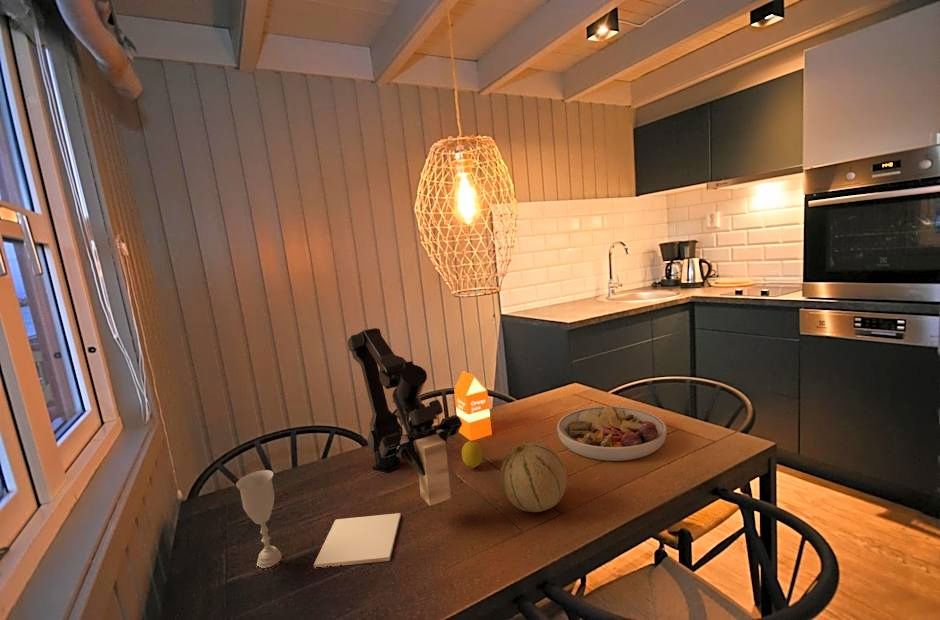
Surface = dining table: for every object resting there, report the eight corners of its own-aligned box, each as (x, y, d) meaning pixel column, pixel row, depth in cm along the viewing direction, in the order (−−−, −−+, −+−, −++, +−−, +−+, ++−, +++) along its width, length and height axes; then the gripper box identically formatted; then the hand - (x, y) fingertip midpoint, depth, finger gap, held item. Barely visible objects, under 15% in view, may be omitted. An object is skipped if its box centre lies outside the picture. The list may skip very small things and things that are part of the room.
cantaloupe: (583, 510, 99) (578, 446, 97) (526, 535, 93) (520, 466, 91) (543, 482, 112) (538, 425, 110) (491, 502, 106) (485, 441, 104)
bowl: (537, 446, 134) (535, 420, 133) (596, 414, 153) (594, 391, 152) (630, 478, 111) (628, 448, 110) (686, 436, 130) (685, 410, 129)
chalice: (259, 551, 97) (245, 472, 94) (291, 546, 97) (278, 468, 95) (245, 576, 90) (229, 491, 87) (280, 570, 90) (265, 486, 88)
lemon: (481, 473, 120) (478, 444, 119) (461, 473, 121) (458, 445, 120) (485, 463, 126) (482, 435, 125) (465, 463, 127) (462, 436, 126)
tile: (336, 522, 105) (335, 519, 104) (400, 516, 104) (400, 513, 104) (314, 568, 90) (313, 564, 90) (389, 560, 90) (389, 557, 89)
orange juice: (479, 425, 152) (473, 368, 150) (492, 434, 144) (486, 373, 142) (458, 432, 149) (451, 373, 146) (470, 441, 141) (463, 379, 138)
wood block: (420, 495, 101) (415, 440, 99) (441, 488, 104) (436, 434, 102) (429, 506, 97) (424, 448, 95) (450, 498, 99) (445, 441, 97)
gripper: (376, 401, 96) (401, 470, 88) (454, 381, 105) (483, 441, 97) (370, 426, 104) (392, 491, 96) (443, 405, 113) (469, 463, 105)
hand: (435, 470), depth 98 cm, fingers closed on wood block, 5 cm apart
